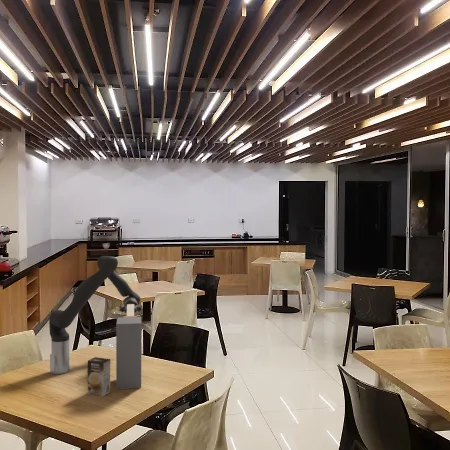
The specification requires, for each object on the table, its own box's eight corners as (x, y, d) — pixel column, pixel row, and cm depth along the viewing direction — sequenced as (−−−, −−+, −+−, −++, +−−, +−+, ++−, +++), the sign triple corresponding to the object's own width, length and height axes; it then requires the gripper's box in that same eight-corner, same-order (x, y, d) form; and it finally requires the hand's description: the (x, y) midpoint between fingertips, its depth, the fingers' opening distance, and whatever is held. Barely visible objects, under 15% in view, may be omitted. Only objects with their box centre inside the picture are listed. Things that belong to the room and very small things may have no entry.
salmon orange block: (124, 309, 274) (124, 301, 270) (136, 309, 275) (136, 301, 272) (123, 333, 258) (123, 325, 254) (136, 332, 259) (136, 324, 256)
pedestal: (118, 378, 250) (117, 317, 249) (141, 377, 252) (141, 316, 251) (116, 389, 234) (116, 324, 234) (141, 387, 236) (141, 323, 236)
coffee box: (86, 394, 228) (86, 360, 228) (94, 389, 234) (94, 356, 234) (103, 396, 225) (103, 362, 225) (110, 391, 231) (110, 358, 231)
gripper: (118, 299, 283) (117, 305, 267) (143, 299, 286) (143, 304, 269) (118, 312, 284) (117, 318, 267) (143, 311, 286) (143, 317, 269)
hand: (130, 311), depth 268 cm, fingers closed on salmon orange block, 4 cm apart
